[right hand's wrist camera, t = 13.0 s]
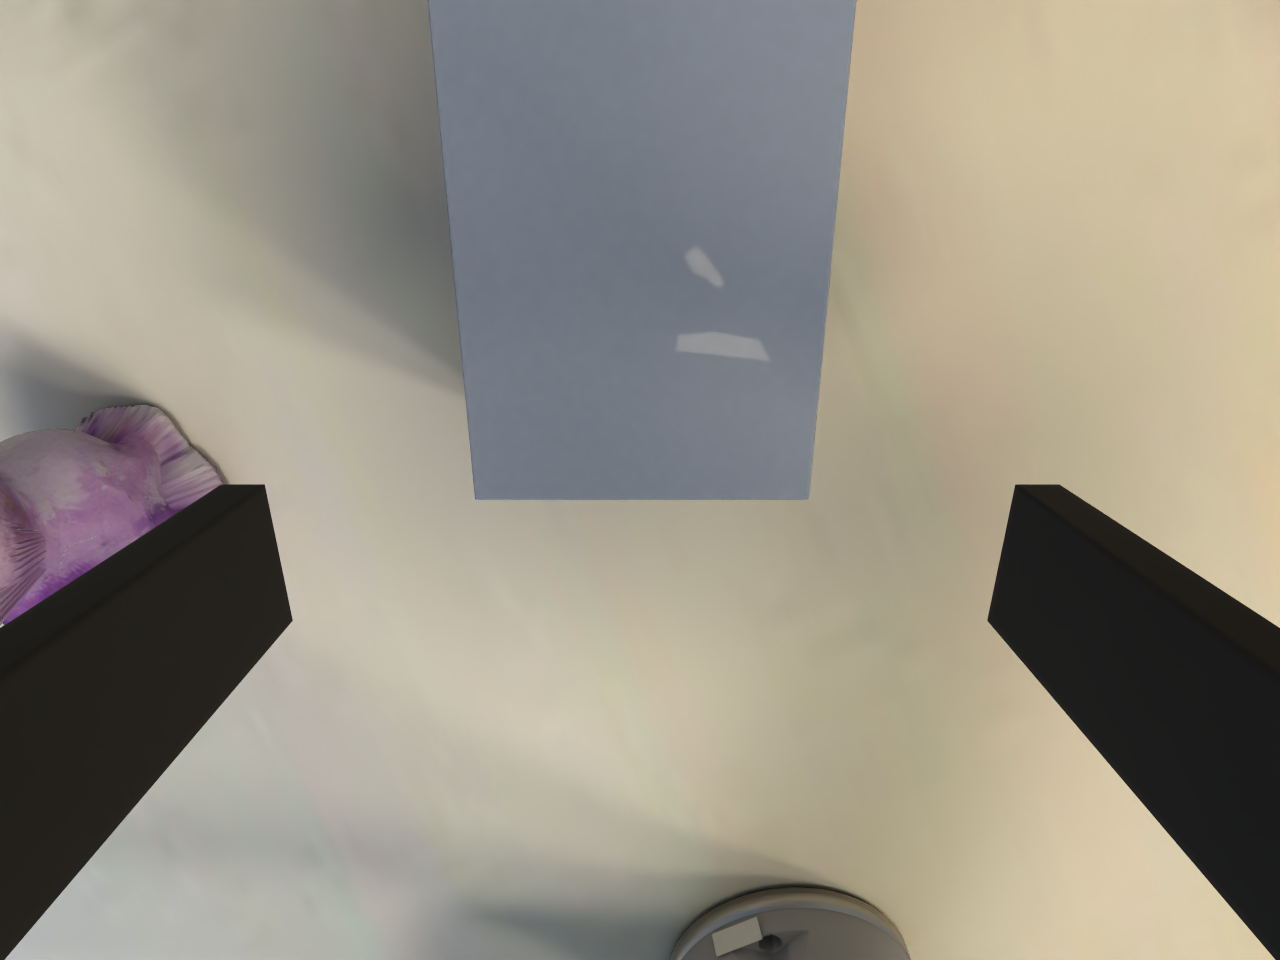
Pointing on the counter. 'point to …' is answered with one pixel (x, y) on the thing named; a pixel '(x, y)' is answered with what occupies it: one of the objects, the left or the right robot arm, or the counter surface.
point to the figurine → (88, 496)
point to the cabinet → (642, 239)
